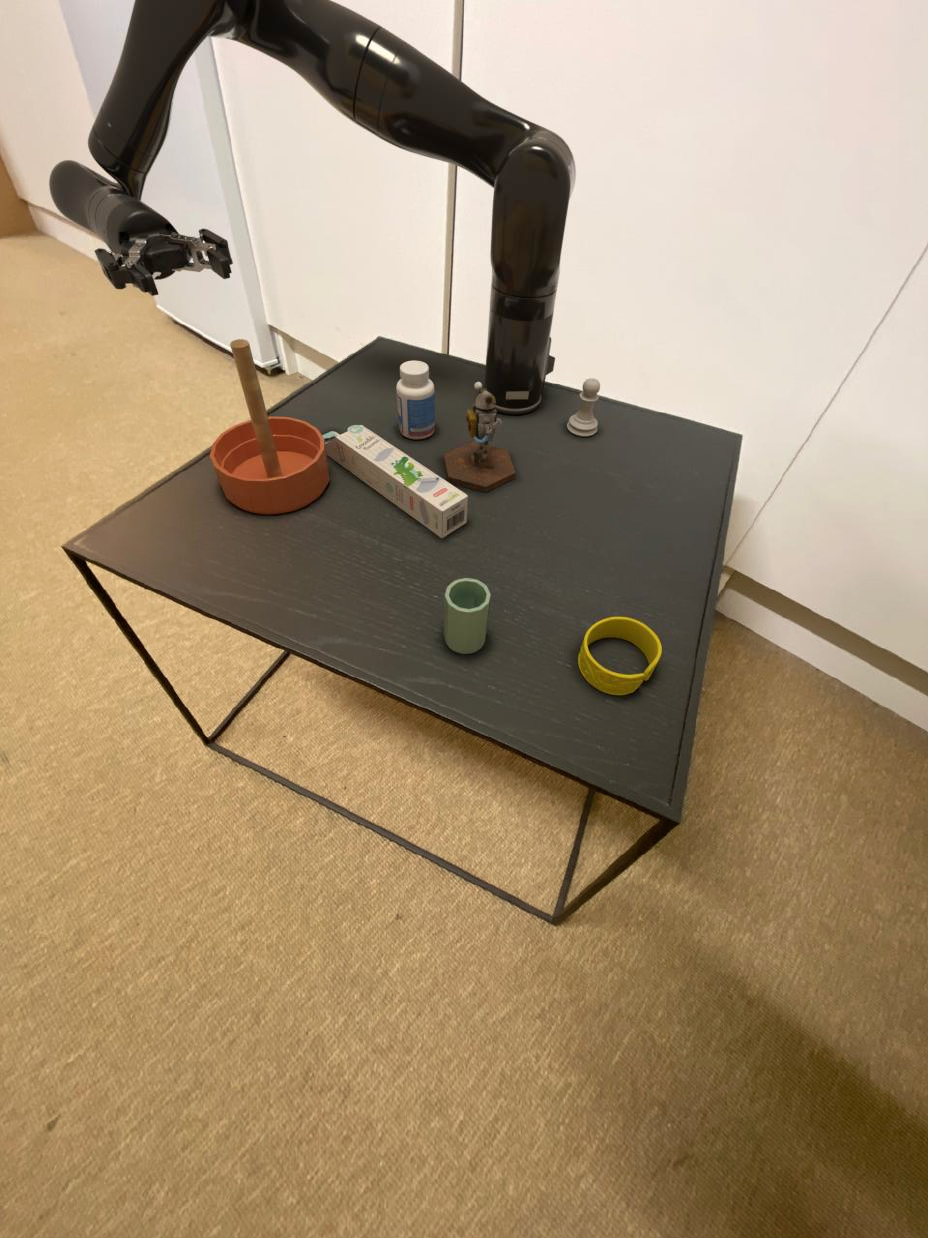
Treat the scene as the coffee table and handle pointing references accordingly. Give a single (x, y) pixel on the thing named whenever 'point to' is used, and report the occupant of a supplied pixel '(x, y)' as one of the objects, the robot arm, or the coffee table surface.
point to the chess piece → (585, 411)
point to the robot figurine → (480, 450)
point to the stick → (256, 406)
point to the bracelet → (626, 631)
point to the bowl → (246, 470)
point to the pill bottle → (415, 401)
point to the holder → (466, 615)
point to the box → (399, 479)
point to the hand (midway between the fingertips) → (190, 277)
